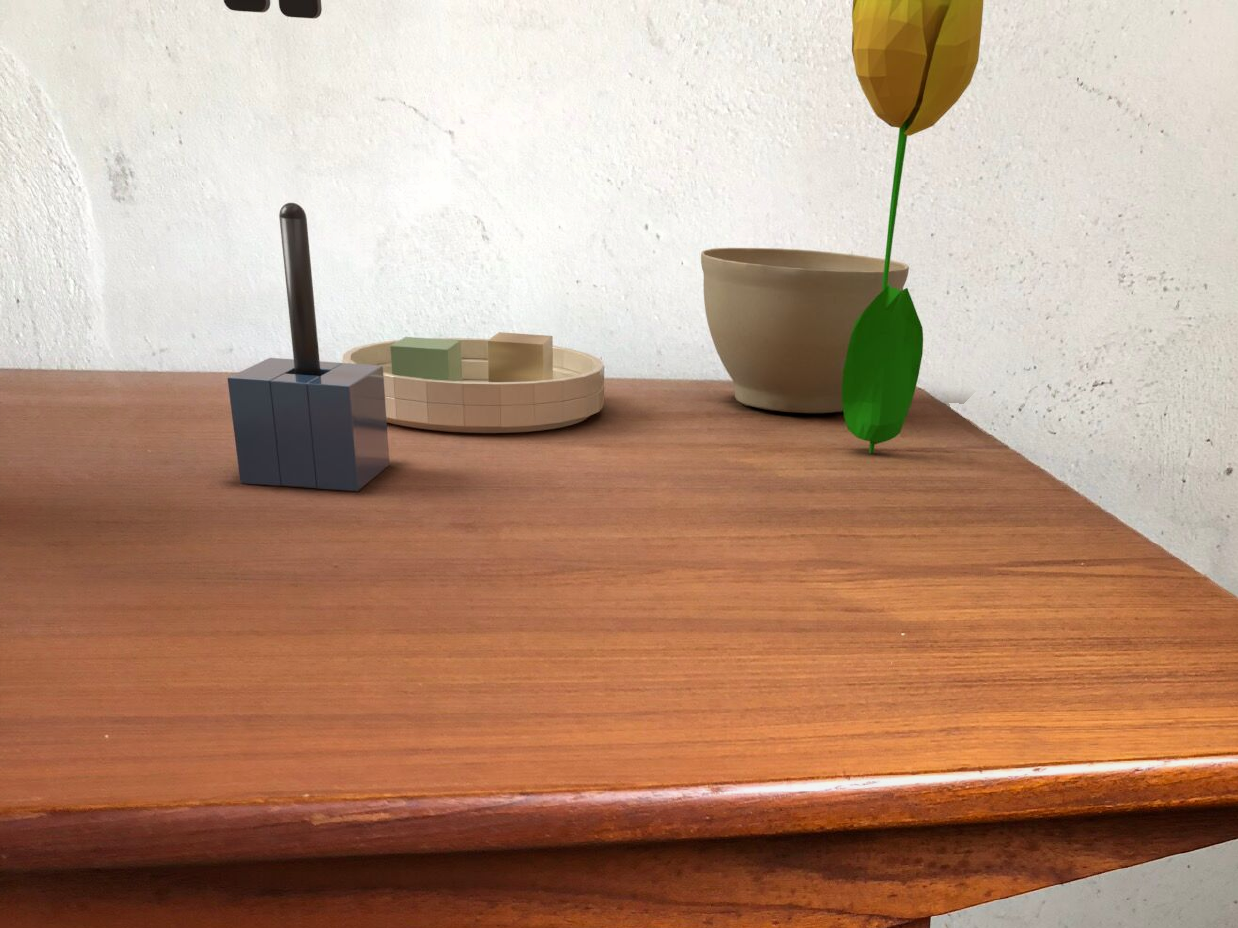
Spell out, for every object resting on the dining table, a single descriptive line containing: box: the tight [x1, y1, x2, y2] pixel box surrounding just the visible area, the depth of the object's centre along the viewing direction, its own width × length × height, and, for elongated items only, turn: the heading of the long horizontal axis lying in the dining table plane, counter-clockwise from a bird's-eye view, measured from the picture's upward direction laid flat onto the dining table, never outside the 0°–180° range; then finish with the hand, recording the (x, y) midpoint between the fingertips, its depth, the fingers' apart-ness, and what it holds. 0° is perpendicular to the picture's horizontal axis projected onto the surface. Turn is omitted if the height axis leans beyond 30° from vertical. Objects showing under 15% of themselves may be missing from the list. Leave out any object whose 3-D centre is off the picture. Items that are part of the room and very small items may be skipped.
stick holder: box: [227, 357, 391, 492], centre depth 87 cm, size 7×7×6 cm
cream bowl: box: [341, 337, 605, 434], centre depth 107 cm, size 19×19×4 cm
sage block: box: [390, 336, 462, 382], centre depth 104 cm, size 4×4×4 cm
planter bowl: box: [700, 247, 910, 414], centre depth 112 cm, size 16×16×11 cm
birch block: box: [487, 332, 554, 382], centre depth 108 cm, size 4×4×4 cm
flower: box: [842, 0, 984, 454], centre depth 94 cm, size 9×8×30 cm
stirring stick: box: [278, 202, 321, 377], centre depth 84 cm, size 2×2×15 cm
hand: (275, 14), depth 76 cm, fingers open, 8 cm apart
